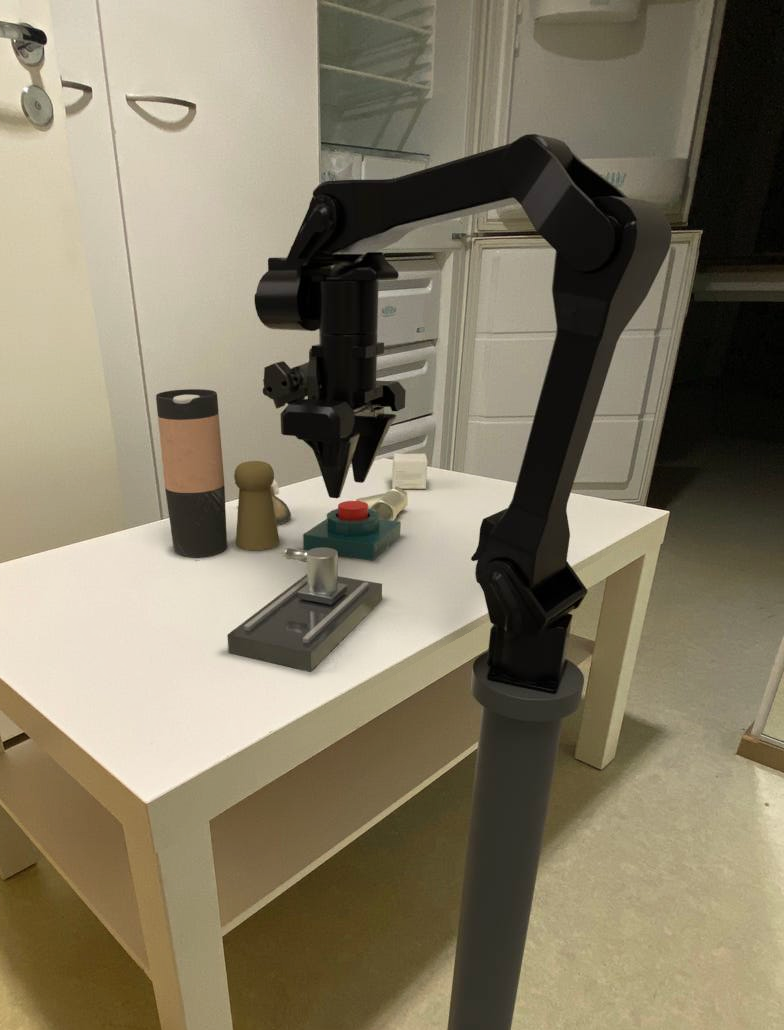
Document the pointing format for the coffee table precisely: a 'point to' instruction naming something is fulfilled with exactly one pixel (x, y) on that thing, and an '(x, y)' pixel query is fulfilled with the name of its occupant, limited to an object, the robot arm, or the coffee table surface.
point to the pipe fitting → (387, 503)
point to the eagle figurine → (278, 505)
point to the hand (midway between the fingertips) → (347, 489)
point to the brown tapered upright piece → (255, 507)
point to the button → (353, 510)
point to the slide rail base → (303, 625)
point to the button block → (353, 535)
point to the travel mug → (193, 470)
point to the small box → (409, 471)
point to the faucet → (319, 574)
